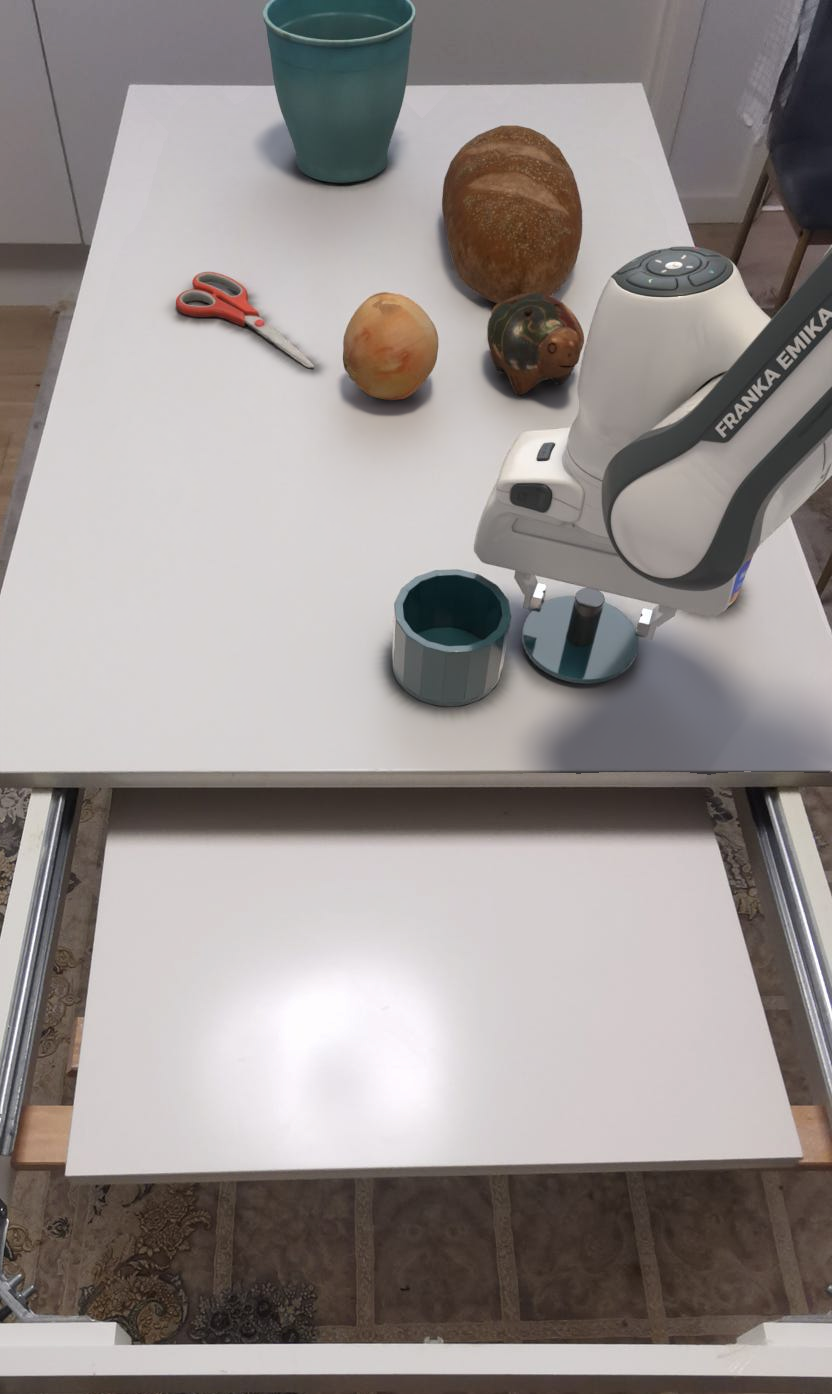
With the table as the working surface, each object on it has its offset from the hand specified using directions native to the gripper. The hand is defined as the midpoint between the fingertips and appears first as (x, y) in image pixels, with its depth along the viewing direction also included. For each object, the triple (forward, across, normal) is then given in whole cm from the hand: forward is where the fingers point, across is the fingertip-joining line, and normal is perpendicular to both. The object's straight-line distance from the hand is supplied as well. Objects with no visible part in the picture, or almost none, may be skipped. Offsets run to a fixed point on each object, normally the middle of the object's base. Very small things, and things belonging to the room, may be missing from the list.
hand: (588, 619), depth 89 cm
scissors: (+3, +45, -36) cm, 58 cm away
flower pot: (+3, +49, -74) cm, 89 cm away
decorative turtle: (+3, +14, -37) cm, 40 cm away
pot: (+3, +10, +6) cm, 12 cm away
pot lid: (+3, 0, 0) cm, 3 cm away
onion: (+3, +27, -29) cm, 40 cm away
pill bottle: (+3, -9, -10) cm, 14 cm away
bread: (+3, +23, -61) cm, 65 cm away
